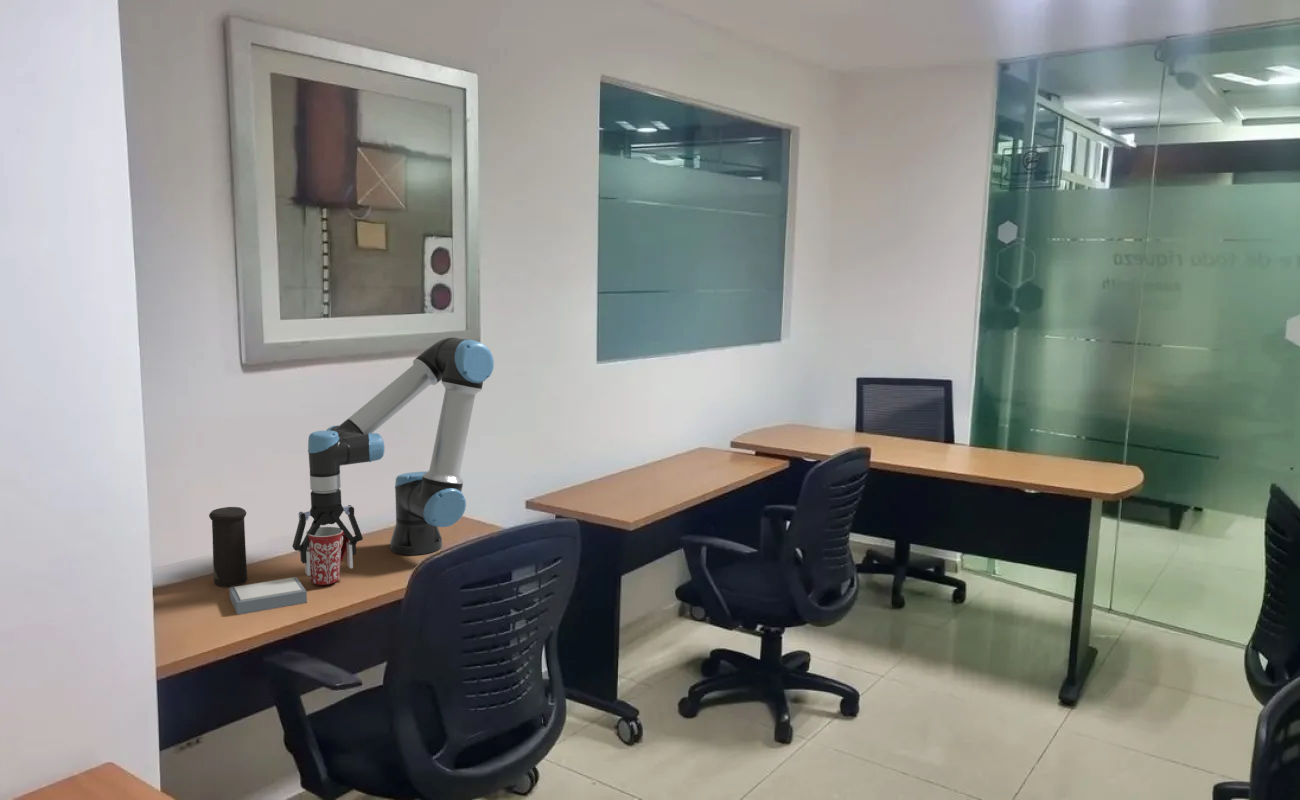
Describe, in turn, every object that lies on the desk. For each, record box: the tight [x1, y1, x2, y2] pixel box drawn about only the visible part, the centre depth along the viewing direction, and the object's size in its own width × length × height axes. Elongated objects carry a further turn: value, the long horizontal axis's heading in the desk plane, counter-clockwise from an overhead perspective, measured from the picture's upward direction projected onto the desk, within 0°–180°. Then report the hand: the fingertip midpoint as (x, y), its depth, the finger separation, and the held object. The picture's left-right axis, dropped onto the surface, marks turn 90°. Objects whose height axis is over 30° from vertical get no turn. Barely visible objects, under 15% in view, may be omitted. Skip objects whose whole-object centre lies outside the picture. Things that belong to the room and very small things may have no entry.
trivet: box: [229, 576, 308, 616], centre depth 223 cm, size 16×12×3 cm
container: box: [208, 506, 248, 588], centre depth 234 cm, size 9×9×20 cm
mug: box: [305, 526, 350, 586], centre depth 236 cm, size 13×9×14 cm
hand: (329, 570), depth 237 cm, fingers closed on mug, 10 cm apart
